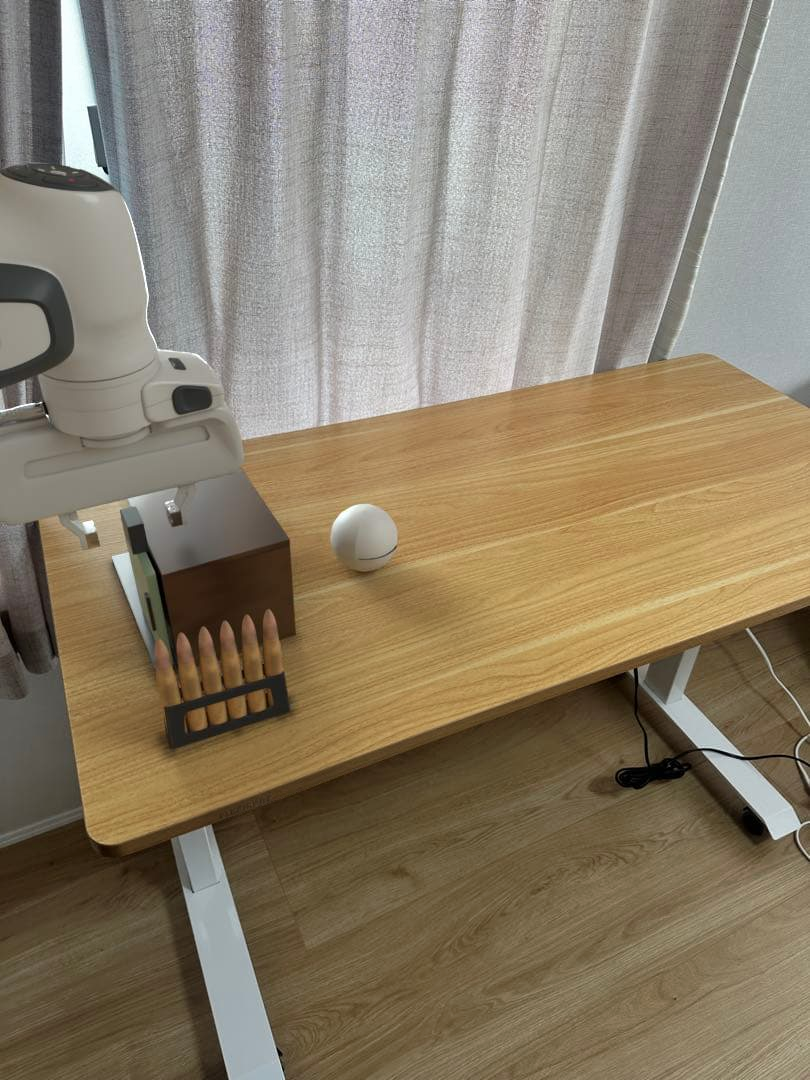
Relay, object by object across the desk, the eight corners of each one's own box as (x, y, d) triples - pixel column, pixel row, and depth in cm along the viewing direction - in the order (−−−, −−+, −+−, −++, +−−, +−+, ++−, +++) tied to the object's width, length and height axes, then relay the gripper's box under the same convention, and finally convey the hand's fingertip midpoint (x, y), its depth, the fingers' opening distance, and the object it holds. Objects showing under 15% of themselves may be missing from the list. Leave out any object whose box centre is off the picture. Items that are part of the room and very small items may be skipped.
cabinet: (158, 680, 75) (136, 582, 67) (112, 560, 88) (89, 467, 81) (296, 634, 80) (290, 539, 73) (232, 528, 94) (221, 438, 86)
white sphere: (340, 591, 85) (339, 536, 81) (324, 550, 91) (322, 496, 86) (429, 574, 88) (433, 520, 84) (407, 535, 94) (410, 482, 89)
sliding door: (162, 668, 75) (136, 549, 66) (137, 605, 81) (111, 490, 73) (177, 663, 75) (153, 545, 67) (151, 601, 82) (126, 486, 73)
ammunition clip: (170, 750, 69) (147, 650, 61) (166, 733, 70) (143, 634, 63) (290, 711, 72) (283, 613, 65) (284, 697, 74) (276, 599, 66)
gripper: (-40, 438, 56) (13, 588, 64) (242, 383, 64) (256, 523, 73) (-47, 399, 60) (3, 544, 69) (218, 352, 68) (233, 487, 77)
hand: (135, 533), depth 71 cm, fingers open, 6 cm apart
